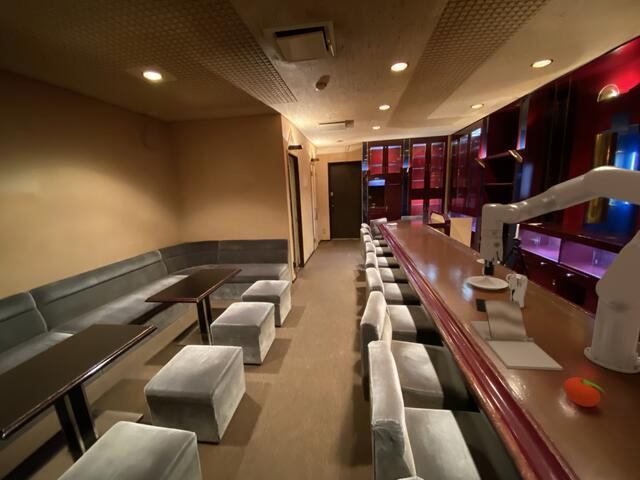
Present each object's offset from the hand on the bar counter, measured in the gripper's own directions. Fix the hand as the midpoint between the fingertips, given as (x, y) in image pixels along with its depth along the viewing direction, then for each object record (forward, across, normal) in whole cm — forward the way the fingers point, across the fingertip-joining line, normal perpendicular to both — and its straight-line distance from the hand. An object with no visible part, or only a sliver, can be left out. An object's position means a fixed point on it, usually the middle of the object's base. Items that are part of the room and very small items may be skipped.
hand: (488, 275), depth 113 cm
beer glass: (+21, +16, -21) cm, 34 cm away
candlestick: (+21, +41, -20) cm, 50 cm away
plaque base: (+21, -18, 0) cm, 28 cm away
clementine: (+21, -47, -4) cm, 51 cm away
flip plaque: (+13, -14, 0) cm, 19 cm away
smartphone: (+22, +15, -6) cm, 27 cm away
